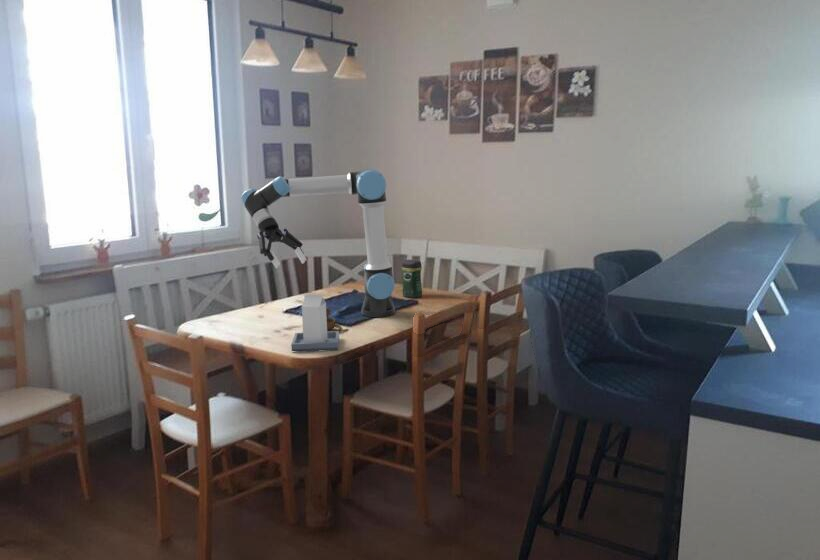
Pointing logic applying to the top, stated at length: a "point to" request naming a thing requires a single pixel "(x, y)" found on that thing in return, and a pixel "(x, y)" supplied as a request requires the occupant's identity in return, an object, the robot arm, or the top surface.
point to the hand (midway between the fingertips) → (291, 263)
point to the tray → (328, 345)
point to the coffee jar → (412, 278)
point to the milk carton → (314, 318)
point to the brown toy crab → (332, 323)
